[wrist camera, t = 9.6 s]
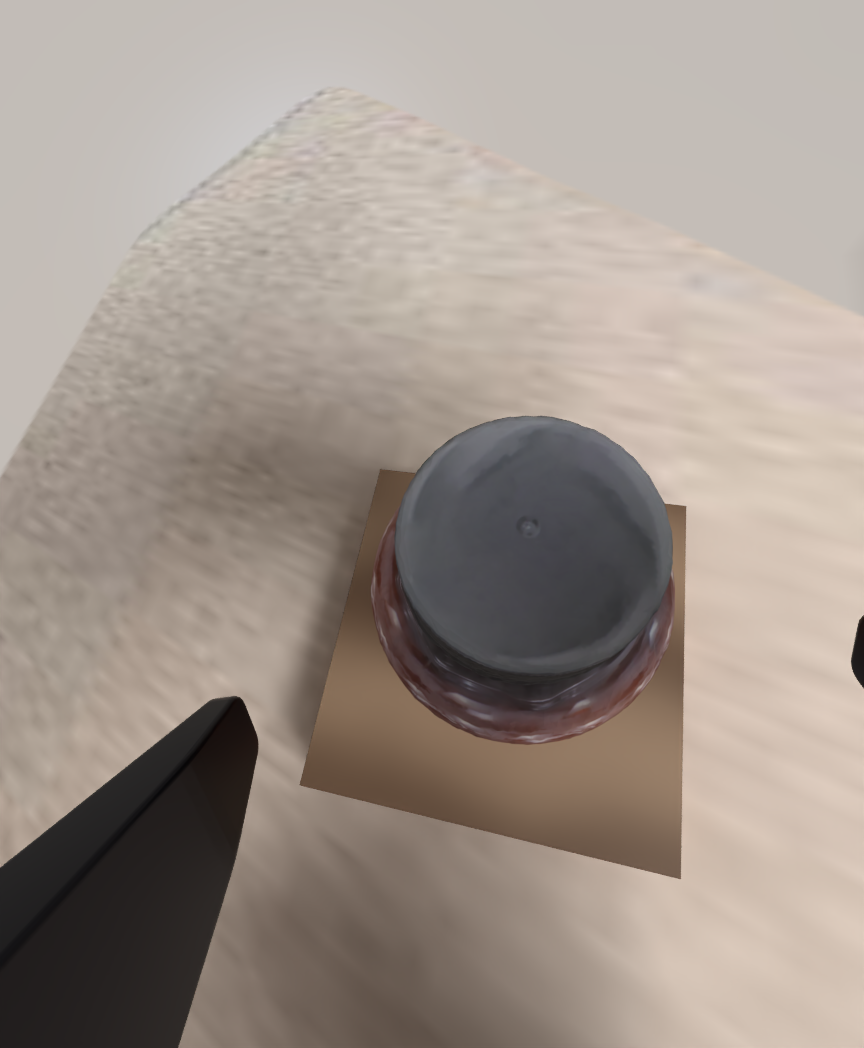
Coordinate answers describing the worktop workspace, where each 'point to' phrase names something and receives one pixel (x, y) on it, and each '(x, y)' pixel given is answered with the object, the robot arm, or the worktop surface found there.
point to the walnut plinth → (502, 768)
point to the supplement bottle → (526, 581)
